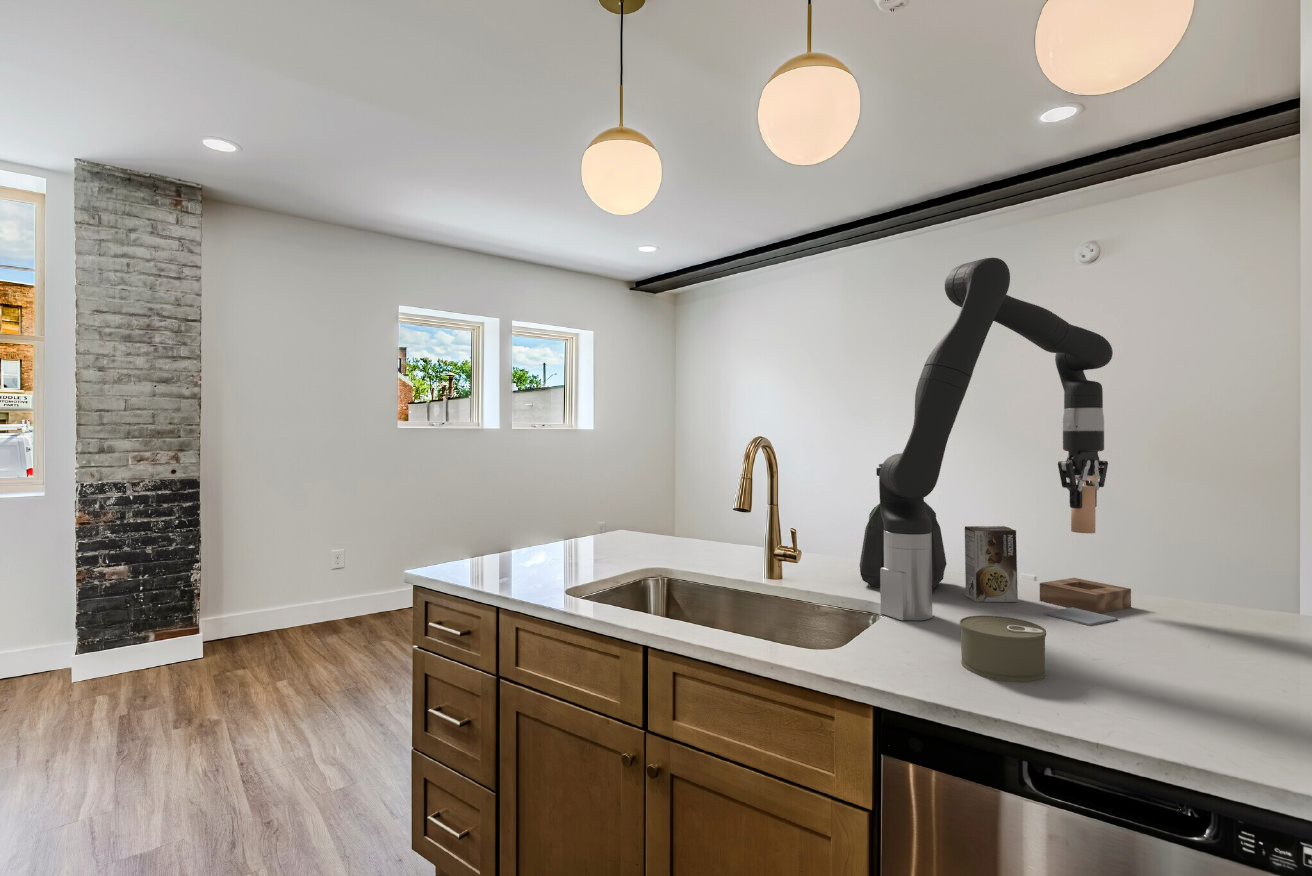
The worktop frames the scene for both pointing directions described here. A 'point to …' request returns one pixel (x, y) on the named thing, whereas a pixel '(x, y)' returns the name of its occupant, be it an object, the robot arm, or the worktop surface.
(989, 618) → the can
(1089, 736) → the worktop surface
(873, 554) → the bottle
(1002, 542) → the coffee box
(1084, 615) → the rubber mat
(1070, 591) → the bore block
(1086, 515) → the peach orange cylinder
